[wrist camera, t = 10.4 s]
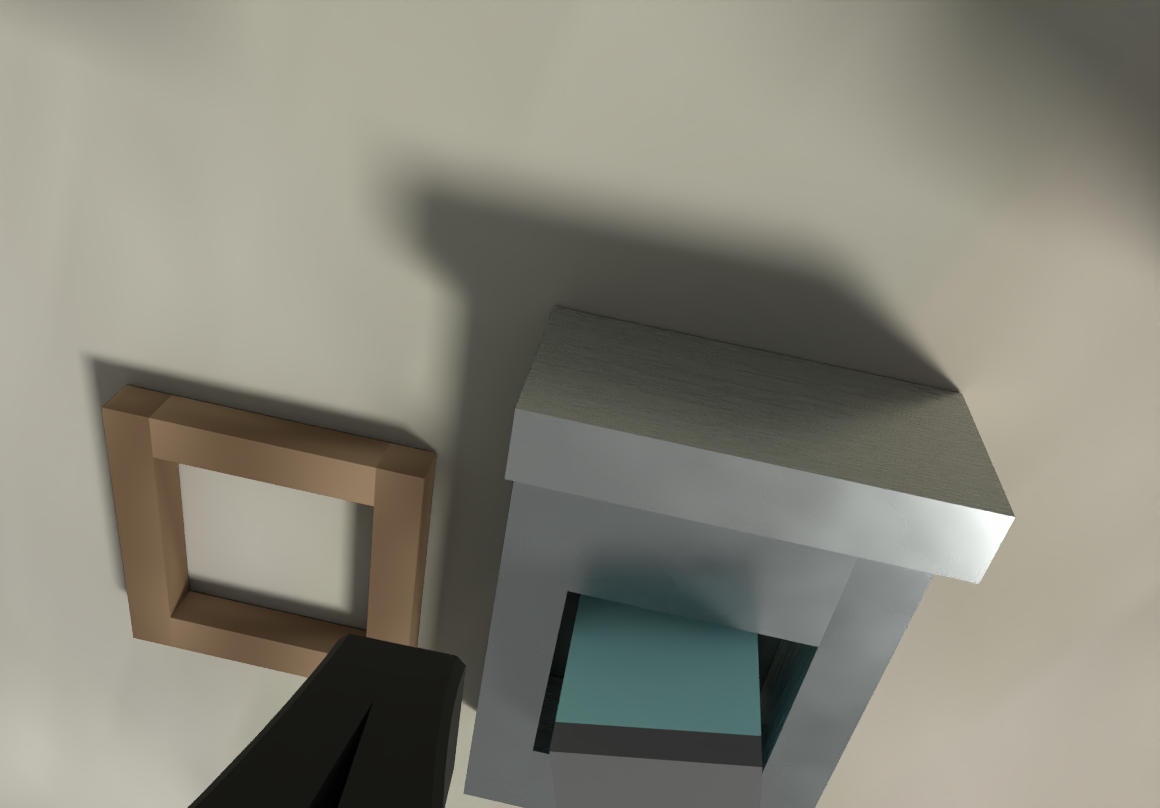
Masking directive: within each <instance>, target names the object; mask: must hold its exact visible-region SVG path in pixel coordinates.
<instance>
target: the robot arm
mask: <svg viewBox="0 0 1160 808" xmlns="http://www.w3.org/2000/svg"><path fill="white" fill-rule="evenodd" d="M465 667H466V665H465V664H464V663H463V662H462V661H461V660H460V659H459V658H458V657H457V656H454V655H450V654H445V653H440V652H435V651H431V650H426V649H421V648H416V647H412V646H407V645H402V644H397V643H393V642H388V641H383V640H378V639H374V638H369V637H364V636H359V635H355V634H348V635H346V636H344V637H342V638H340V639H339V640H338V641H337V642H336V644H335V645H334V646H333V648H332V649H331V650H330V651H329V653H328V654H327V655H326V657H325V658H324V659H323V660H322V662H321V663H320V664H319V665H318V666H317V668H316V669H315V670H314V671H313V672H312V674H311V675H310V676H309V677H308V679H307V680H306V681H305V682H304V683H303V684H302V686H301V687H300V688H299V689H298V690H297V691H296V693H295V694H294V695H293V696H292V697H291V698H290V700H289V701H288V702H287V703H286V704H285V705H284V706H283V707H282V709H281V710H280V711H279V712H278V713H277V714H276V715H275V716H274V717H273V719H272V720H271V721H270V722H269V723H268V724H267V725H266V726H265V728H264V729H263V730H262V731H261V732H260V733H259V734H258V735H257V736H256V737H255V738H254V740H253V741H252V742H251V743H250V744H249V745H248V746H247V747H246V748H245V749H244V750H243V751H242V752H241V753H240V754H239V755H238V756H237V757H236V758H235V759H234V760H233V761H232V763H231V764H230V765H229V766H228V767H227V768H226V769H225V770H224V771H223V772H222V773H221V774H220V775H219V776H218V777H217V778H216V779H215V780H214V781H213V782H212V783H211V784H210V786H209V787H208V788H207V789H206V790H205V791H204V792H203V793H202V794H201V795H200V796H199V797H198V798H197V799H196V800H195V801H194V802H193V803H192V804H191V805H190V806H189V807H188V808H445V804H446V799H447V795H448V791H449V786H450V782H451V778H452V773H453V769H454V762H455V754H456V745H457V736H458V728H459V719H460V710H461V702H462V693H463V685H464V676H465Z"/></svg>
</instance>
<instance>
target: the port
mask: <svg viewBox="0 0 1160 808" xmlns="http://www.w3.org/2000/svg"><path fill="white" fill-rule="evenodd" d="M505 479H506V480H511V481H514V482H513V488H512V495H511V501H510V507H509V513H508V519H507V526H506V532H505V538H504V544H503V551H502V557H501V563H500V569H499V576H498V582H497V588H496V594H495V601H494V607H493V613H492V619H491V625H490V632H489V638H488V644H487V650H486V657H485V663H484V669H483V675H482V682H481V688H480V694H479V700H478V707H477V713H476V719H475V725H474V732H473V738H472V744H471V750H470V756H469V763H468V769H467V775H466V781H465V788H464V794H467V795H472V796H476V797H480V798H485V799H489V800H493V801H498V802H502V803H506V804H511V805H515V806H519V807H524V808H556V801H555V793H554V785H553V777H552V769H551V761H550V753H549V750H550V745H551V740H552V735H553V730H554V725H555V720H556V715H557V710H558V705H559V700H560V695H561V690H562V685H563V680H564V678H560V677H556V676H551V675H549V673H550V669H551V664H552V659H553V655H554V650H555V646H556V641H557V637H558V632H559V627H560V623H561V618H562V614H563V609H564V605H565V600H566V595H567V591H570V592H574V593H579V594H583V595H588V596H592V597H597V598H601V599H606V600H610V601H615V602H619V603H623V604H628V605H632V606H637V607H641V608H646V609H650V610H655V611H659V612H664V613H668V614H673V615H677V616H682V617H686V618H691V619H695V620H700V621H704V622H708V623H713V624H717V625H722V626H726V627H731V628H735V629H740V630H744V631H749V632H753V633H758V634H762V635H767V636H771V637H776V638H780V639H781V642H780V644H779V647H778V649H777V651H776V654H775V656H774V659H773V661H772V664H771V666H770V669H769V671H768V673H767V676H766V678H765V681H764V683H763V686H762V688H761V691H760V717H761V744H762V783H761V801H760V808H815V806H816V804H817V802H818V801H819V799H820V797H821V795H822V793H823V791H824V789H825V787H826V785H827V783H828V781H829V779H830V777H831V775H832V773H833V771H834V769H835V767H836V765H837V763H838V761H839V759H840V757H841V755H842V753H843V751H844V750H845V748H846V746H847V744H848V742H849V740H850V738H851V736H852V734H853V732H854V730H855V728H856V726H857V724H858V722H859V720H860V718H861V716H862V714H863V712H864V710H865V708H866V706H867V704H868V702H869V700H870V699H871V697H872V695H873V693H874V691H875V689H876V687H877V685H878V683H879V681H880V679H881V677H882V675H883V673H884V671H885V669H886V667H887V665H888V663H889V661H890V659H891V657H892V655H893V653H894V651H895V649H896V648H897V646H898V644H899V642H900V640H901V638H902V636H903V634H904V632H905V630H906V628H907V626H908V624H909V622H910V620H911V618H912V616H913V614H914V612H915V610H916V608H917V606H918V604H919V602H920V600H921V598H922V597H923V595H924V593H925V591H926V589H927V587H928V585H929V583H930V581H931V579H932V577H933V575H934V574H937V575H942V576H946V577H951V578H955V579H960V580H964V581H969V582H973V583H978V584H979V582H980V580H981V579H982V577H983V575H984V573H985V571H986V569H987V568H988V566H989V564H990V562H991V560H992V559H993V557H994V555H995V553H996V551H997V549H998V548H999V546H1000V544H1001V542H1002V540H1003V539H1004V537H1005V535H1006V533H1007V531H1008V529H1009V528H1010V526H1011V524H1012V522H1013V520H1014V519H1015V516H1014V513H1013V511H1012V509H1011V506H1010V504H1009V502H1008V499H1007V497H1006V495H1005V492H1004V490H1003V488H1002V485H1001V483H1000V481H999V478H998V476H997V474H996V472H995V469H994V467H993V465H992V462H991V460H990V458H989V455H988V453H987V451H986V448H985V446H984V444H983V441H982V439H981V437H980V434H979V432H978V430H977V427H976V425H975V423H974V420H973V418H972V416H971V413H970V411H969V409H968V406H967V404H966V402H965V399H964V397H963V395H962V393H957V392H952V391H948V390H943V389H938V388H934V387H929V386H924V385H920V384H915V383H910V382H906V381H901V380H896V379H892V378H887V377H882V376H878V375H873V374H868V373H864V372H859V371H854V370H850V369H845V368H840V367H836V366H831V365H826V364H822V363H817V362H812V361H808V360H803V359H798V358H794V357H789V356H784V355H780V354H775V353H770V352H766V351H761V350H756V349H752V348H747V347H742V346H738V345H733V344H728V343H724V342H719V341H714V340H710V339H705V338H700V337H696V336H691V335H686V334H682V333H677V332H672V331H668V330H663V329H658V328H654V327H649V326H644V325H640V324H635V323H630V322H626V321H621V320H616V319H612V318H607V317H602V316H598V315H593V314H588V313H584V312H579V311H575V310H570V309H565V308H561V307H556V306H554V307H553V310H552V313H551V315H550V318H549V321H548V323H547V326H546V329H545V331H544V334H543V337H542V339H541V342H540V344H539V347H538V350H537V352H536V355H535V358H534V360H533V363H532V366H531V368H530V371H529V373H528V376H527V379H526V381H525V384H524V387H523V389H522V392H521V395H520V397H519V400H518V402H517V405H516V408H515V413H514V420H513V426H512V433H511V439H510V446H509V453H508V459H507V466H506V472H505Z"/></svg>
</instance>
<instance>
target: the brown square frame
mask: <svg viewBox="0 0 1160 808" xmlns="http://www.w3.org/2000/svg"><path fill="white" fill-rule="evenodd" d="M101 409H102V417H103V424H104V431H105V438H106V445H107V452H108V459H109V467H110V474H111V481H112V488H113V495H114V502H115V509H116V516H117V524H118V531H119V538H120V545H121V552H122V559H123V566H124V574H125V581H126V588H127V595H128V602H129V609H130V616H131V624H132V631H133V638H137V639H141V640H146V641H150V642H155V643H159V644H163V645H168V646H172V647H176V648H181V649H185V650H190V651H194V652H198V653H203V654H207V655H212V656H216V657H220V658H225V659H229V660H233V661H238V662H242V663H247V664H251V665H255V666H260V667H264V668H268V669H273V670H277V671H282V672H286V673H290V674H295V675H299V676H304V677H309V676H310V675H311V674H312V672H313V671H314V670H315V669H316V668H317V666H318V665H319V664H320V663H321V662H322V660H323V659H324V658H325V657H326V655H327V654H328V653H329V651H330V650H331V649H332V648H333V646H334V645H335V644H336V642H337V641H338V640H339V639H340V638H342V637H344V636H346V635H348V634H355V635H359V636H364V637H369V638H374V639H378V640H383V641H388V642H393V643H397V644H402V645H407V646H412V647H416V648H417V644H418V634H419V624H420V614H421V604H422V594H423V584H424V574H425V564H426V554H427V544H428V535H429V525H430V515H431V505H432V495H433V485H434V475H435V465H436V455H437V453H434V452H429V451H424V450H420V449H415V448H411V447H406V446H402V445H397V444H393V443H388V442H384V441H379V440H374V439H370V438H365V437H361V436H356V435H352V434H347V433H343V432H338V431H334V430H329V429H324V428H320V427H315V426H311V425H306V424H302V423H297V422H293V421H288V420H284V419H279V418H274V417H270V416H265V415H261V414H256V413H252V412H247V411H243V410H238V409H234V408H229V407H224V406H220V405H215V404H211V403H206V402H202V401H197V400H193V399H188V398H184V397H179V396H174V395H170V394H165V393H161V392H156V391H152V390H147V389H143V388H138V387H134V386H129V385H126V386H125V387H123V388H122V389H121V390H120V391H119V392H118V393H117V394H116V395H114V396H113V397H112V398H111V399H110V400H109V401H108V402H107V403H105V404H104V405H103V406H102V407H101ZM178 463H181V464H185V465H190V466H194V467H199V468H203V469H208V470H212V471H217V472H221V473H226V474H230V475H235V476H239V477H244V478H248V479H253V480H257V481H262V482H266V483H271V484H275V485H280V486H284V487H289V488H293V489H298V490H302V491H307V492H311V493H316V494H320V495H325V496H329V497H334V498H338V499H343V500H347V501H352V502H356V503H361V504H365V505H370V506H374V511H373V529H372V546H371V564H370V581H369V599H368V616H367V631H364V630H360V629H355V628H351V627H347V626H342V625H338V624H333V623H329V622H324V621H320V620H316V619H311V618H307V617H302V616H298V615H294V614H289V613H285V612H280V611H276V610H271V609H267V608H263V607H258V606H254V605H249V604H245V603H240V602H236V601H232V600H227V599H223V598H218V597H214V596H210V595H205V594H201V593H196V592H192V591H189V579H188V568H187V557H186V546H185V535H184V523H183V512H182V501H181V490H180V479H179V467H178Z"/></svg>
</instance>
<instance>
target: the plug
mask: <svg viewBox="0 0 1160 808" xmlns="http://www.w3.org/2000/svg"><path fill="white" fill-rule="evenodd" d="M549 753H550V761H551V769H552V777H553V785H554V793H555V801H556V808H760V801H761V783H762V744H761V717H760V689H759V662H758V635H757V633H753V632H749V631H744V630H740V629H735V628H731V627H726V626H722V625H717V624H713V623H708V622H704V621H700V620H695V619H691V618H686V617H682V616H677V615H673V614H668V613H664V612H659V611H655V610H650V609H646V608H641V607H637V606H632V605H628V604H623V603H619V602H615V601H610V600H606V599H601V598H597V597H592V596H588V595H583V594H580V599H579V604H578V609H577V614H576V619H575V624H574V629H573V634H572V639H571V644H570V649H569V655H568V660H567V665H566V670H565V675H564V680H563V685H562V690H561V695H560V700H559V705H558V710H557V715H556V720H555V725H554V730H553V735H552V740H551V745H550V750H549Z"/></svg>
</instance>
